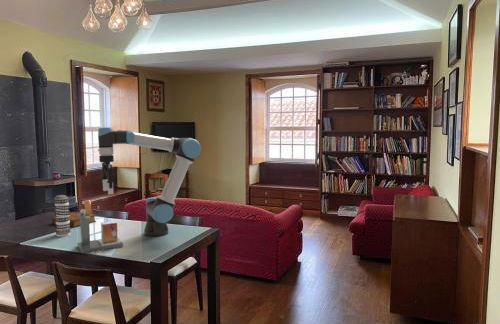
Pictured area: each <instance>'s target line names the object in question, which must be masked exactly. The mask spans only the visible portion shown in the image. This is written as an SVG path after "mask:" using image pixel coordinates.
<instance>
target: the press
mask: <svg viewBox="0 0 500 324" xmlns="http://www.w3.org/2000/svg"><path fill="white" fill-rule="evenodd" d="M79 218H80V226H79V227H80V241H79V242H76V245H77V248H78V251H79V252H80V253H81V254H86V252H88V253H92V252H91V251H94V252H98V251H97V250H100V251H103V250H102V249H106V250H110V249H109V248H112V249H117V248H116V247H118V248H123V247H124V242H123V241H122V240H121V239H120V238H119V237H118V240H117V241H110V242H103V241H102V238H100V239H99V238H98V239H93V240H90V239H91V238H90V236H91V235H90V234H91V233H90V224H89V218H86V217H85V216H84V215H83V214H80V213H79ZM122 246H123V247H122Z"/></svg>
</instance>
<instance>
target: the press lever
mask: <svg viewBox="0 0 500 324" xmlns="http://www.w3.org/2000/svg"><path fill="white" fill-rule="evenodd" d="M91 201H92V200H90V199H88V200H87V199H86V200H84V208H82V209H80V210H79V212H80V214H83V215H84V216H85V217H86V218H90V216H91V214H92V202H91Z"/></svg>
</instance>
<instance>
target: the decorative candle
mask: <svg viewBox="0 0 500 324" xmlns="http://www.w3.org/2000/svg"><path fill="white" fill-rule="evenodd" d="M69 198H70V197H69V196H67V195H65V194H60V195H56V196H55V197H54V205H53V208H54V209H53V212H54V213H53V214H54V216H55V218H56V224H54V225H55V236H57V237H66V236H71V228H72V227H70V220H69V216H70V214H69V213H71V211H70V207H71V206H70V205H69V203H70V202H69Z"/></svg>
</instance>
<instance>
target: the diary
mask: <svg viewBox="0 0 500 324" xmlns="http://www.w3.org/2000/svg"><path fill="white" fill-rule="evenodd" d="M79 213H80V211H79V212H78V211H70V212H69V214H70V216H69V220H70V227H69V228H73V229H74V228H79V227H80V218H79ZM96 216H97V215H96V214H93V213H91V216H90V218H89V225H90V224H93V223H96V222H97V221H96V220H95V219H96V218H95V217H96ZM51 224H52V225H56V218H55V215H53V216H52V217H51Z"/></svg>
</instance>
